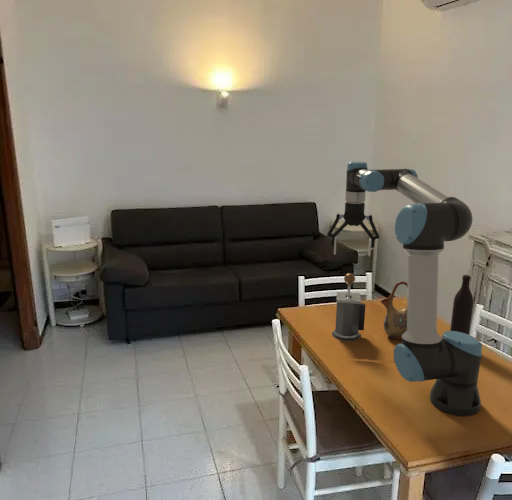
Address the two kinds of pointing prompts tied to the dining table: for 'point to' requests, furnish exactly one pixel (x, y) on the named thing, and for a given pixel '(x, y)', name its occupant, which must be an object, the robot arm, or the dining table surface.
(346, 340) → the trivet
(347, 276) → the plunger
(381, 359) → the dining table surface
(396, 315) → the ceramic vessel
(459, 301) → the wine bottle
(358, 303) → the french press
